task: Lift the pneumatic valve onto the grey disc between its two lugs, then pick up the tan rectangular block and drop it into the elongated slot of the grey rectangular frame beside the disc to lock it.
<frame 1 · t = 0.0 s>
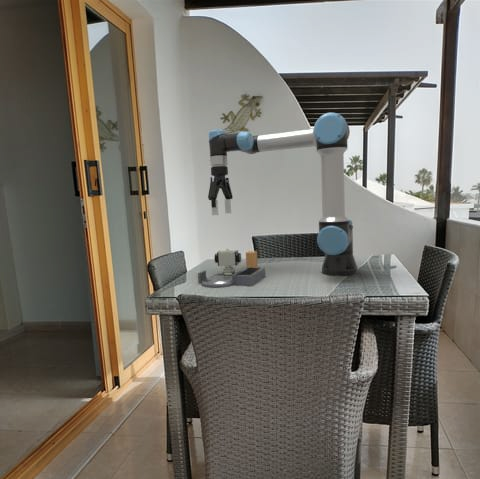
hand: (222, 214, 160), 28 cm above the table, fingers open, 13 cm apart
grey disc: (219, 283, 149), on the table
grey rectangular frame: (249, 280, 150), on the table
tan rectangular block: (252, 273, 164), on the table
pneumatic valve: (229, 274, 164), on the table
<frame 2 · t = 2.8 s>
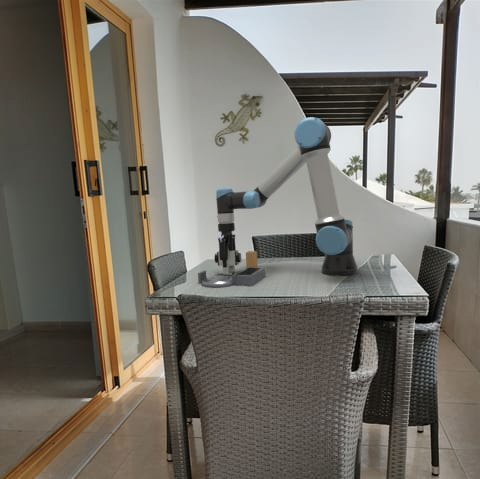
hand: (229, 272, 164), 1 cm above the table, fingers closed on pneumatic valve, 6 cm apart
pneumatic valve: (229, 274, 164), on the table, touching gripper
everything else where it was.
when the fingers open (4 cm above the table, at t = 8.1 s): pneumatic valve drops 1 cm, resting on grey disc.
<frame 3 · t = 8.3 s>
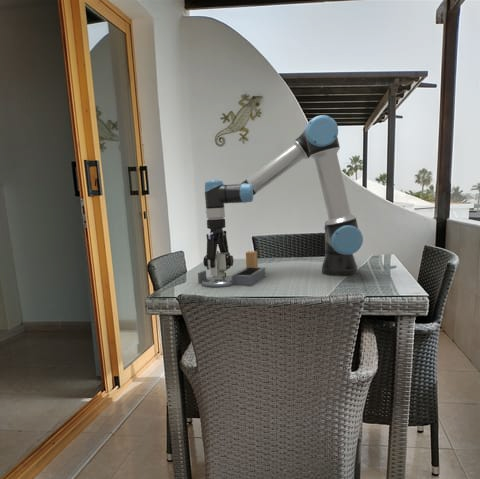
hand: (219, 272, 148), 4 cm above the table, fingers open, 8 cm apart
pneumatic valve: (220, 279, 149), point 1 cm above the table, touching grey disc
everything else where it was.
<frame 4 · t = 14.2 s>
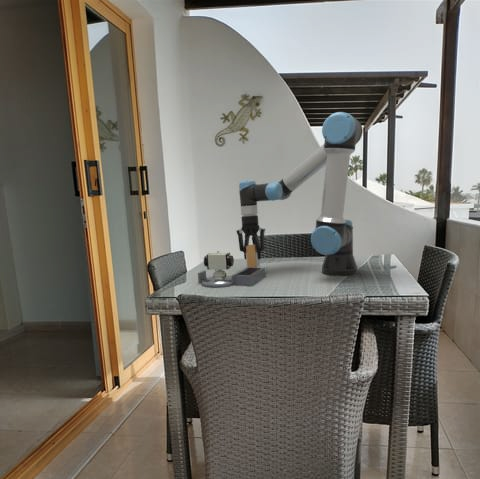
hand: (253, 266, 163), 3 cm above the table, fingers closed on tan rectangular block, 4 cm apart
tan rectangular block: (253, 266, 163), point 3 cm above the table, touching gripper
everything else where it was.
when the fingers open (2 cm above the table, at t = 19.3 s): tan rectangular block drops 1 cm, resting in grey rectangular frame.
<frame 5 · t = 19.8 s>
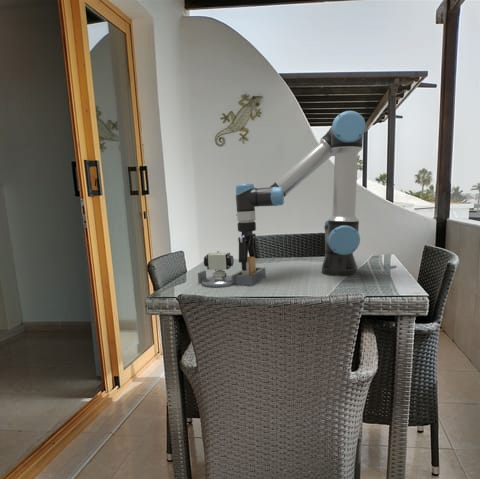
hand: (249, 275, 149), 2 cm above the table, fingers open, 8 cm apart
tan rectangular block: (249, 280, 150), resting in grey rectangular frame
everything else where it was.
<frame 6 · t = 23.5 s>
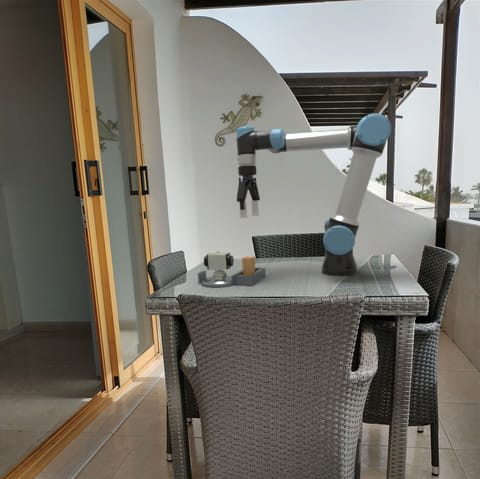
hand: (249, 216, 150), 27 cm above the table, fingers open, 13 cm apart
nothing on the table moved.
at the end: pneumatic valve 0.6 cm from the grey disc (horizontally); tan rectangular block inside the target area on the grey rectangular frame (0.1 cm from its centre), point 0.0 cm above the grey rectangular frame's base; the gripper is holding nothing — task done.
